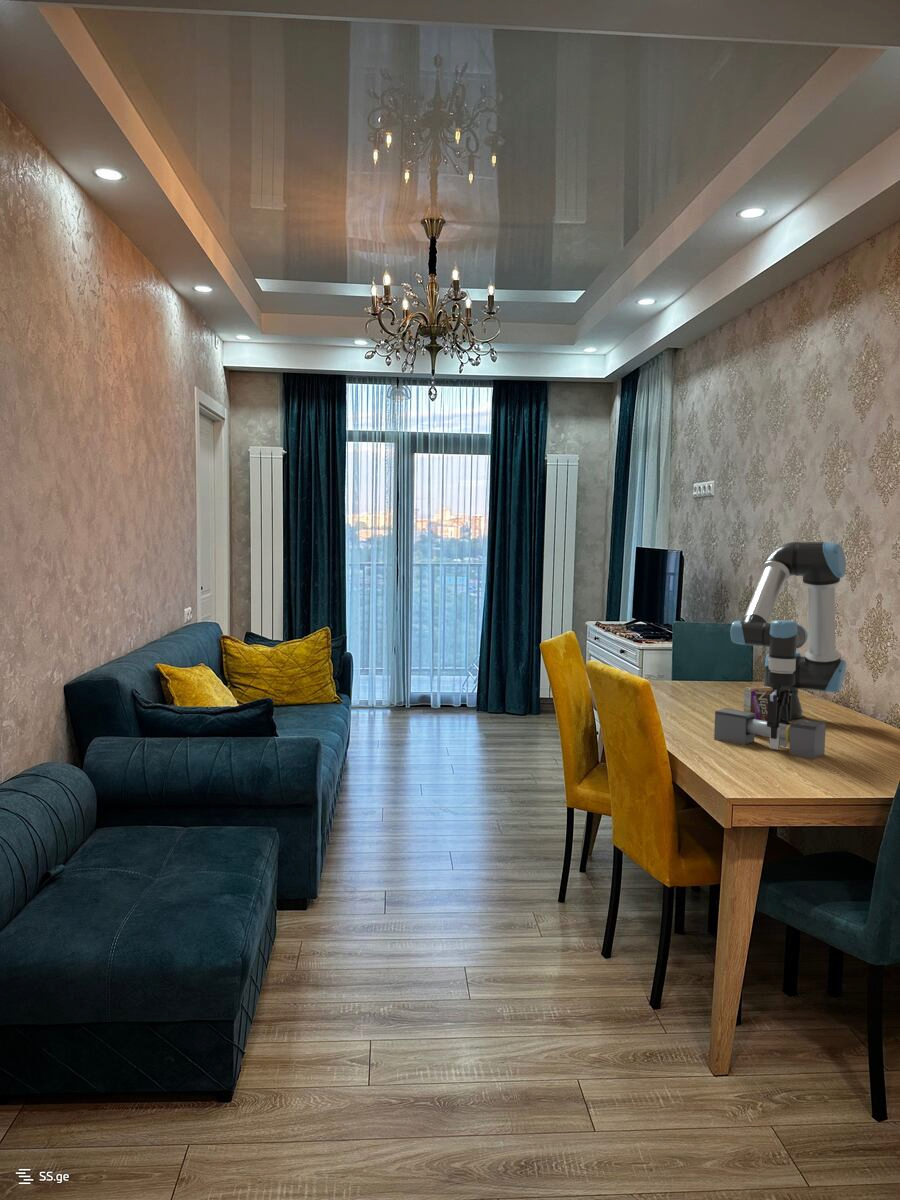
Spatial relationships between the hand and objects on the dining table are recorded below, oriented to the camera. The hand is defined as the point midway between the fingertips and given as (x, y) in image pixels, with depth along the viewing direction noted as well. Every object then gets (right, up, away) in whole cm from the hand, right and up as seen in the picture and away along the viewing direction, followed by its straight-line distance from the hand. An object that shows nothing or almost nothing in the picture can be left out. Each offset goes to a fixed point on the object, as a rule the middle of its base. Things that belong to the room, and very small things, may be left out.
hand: (778, 747), depth 241 cm
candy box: (+1, +1, +20) cm, 20 cm away
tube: (-1, +2, +1) cm, 3 cm away
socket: (+6, -1, -6) cm, 9 cm away
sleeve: (-10, 0, +10) cm, 14 cm away
